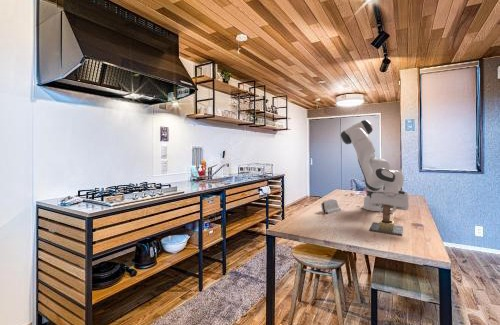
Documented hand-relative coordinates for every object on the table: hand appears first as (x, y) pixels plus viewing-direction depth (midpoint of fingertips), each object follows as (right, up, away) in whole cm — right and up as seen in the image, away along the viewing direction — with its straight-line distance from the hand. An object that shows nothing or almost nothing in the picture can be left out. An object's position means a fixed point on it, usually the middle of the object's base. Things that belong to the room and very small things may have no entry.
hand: (386, 213), depth 149 cm
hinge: (-18, -8, +44) cm, 48 cm away
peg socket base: (+1, -10, +1) cm, 10 cm away
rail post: (0, -6, +1) cm, 6 cm away
